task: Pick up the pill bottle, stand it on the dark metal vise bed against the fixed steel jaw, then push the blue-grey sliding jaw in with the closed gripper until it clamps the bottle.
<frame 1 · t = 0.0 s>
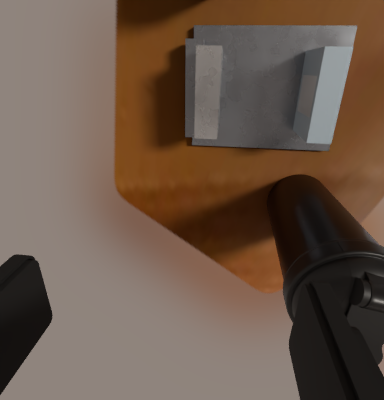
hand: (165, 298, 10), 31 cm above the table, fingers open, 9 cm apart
water bottle: (296, 200, 41), on the table
sliding jaw: (317, 95, 31), point 5 cm above the table, slide at 0.0 cm, touching vise base
vise base: (260, 91, 35), on the table
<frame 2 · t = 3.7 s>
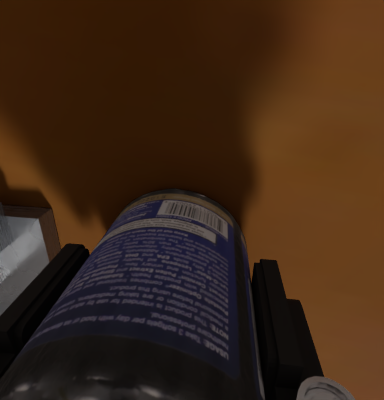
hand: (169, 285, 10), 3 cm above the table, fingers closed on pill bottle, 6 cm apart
pill bottle: (180, 243, 13), on the table, touching gripper
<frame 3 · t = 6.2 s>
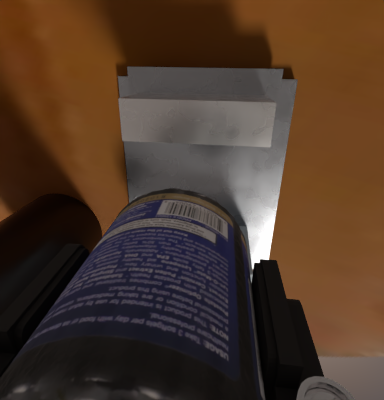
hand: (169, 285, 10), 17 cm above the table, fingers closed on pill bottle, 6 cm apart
water bottle: (65, 227, 31), on the table
sliding jaw: (196, 255, 25), point 5 cm above the table, slide at 0.0 cm, touching vise base
pill bottle: (180, 243, 13), point 14 cm above the table, touching gripper
vise base: (202, 176, 26), on the table
when the fingers open (5 cm above the table, at t = 9.0 s): pill bottle drops 1 cm, resting on vise base.
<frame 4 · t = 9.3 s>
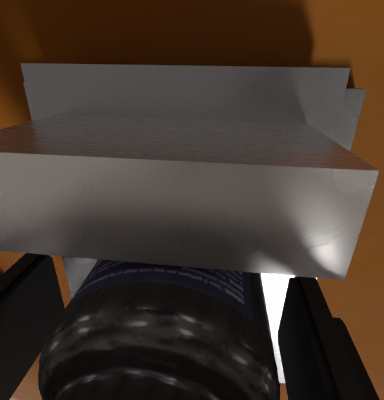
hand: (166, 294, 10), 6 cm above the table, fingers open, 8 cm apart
pill bottle: (192, 227, 14), point 1 cm above the table, touching vise base
vise base: (186, 246, 16), on the table
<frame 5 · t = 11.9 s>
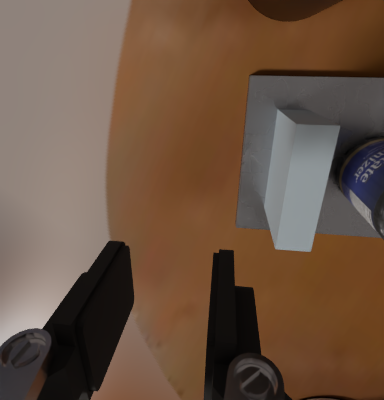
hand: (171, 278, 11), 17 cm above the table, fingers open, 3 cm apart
sliding jaw: (293, 176, 22), point 5 cm above the table, slide at 0.0 cm, touching vise base
pill bottle: (371, 170, 24), point 1 cm above the table, touching vise base
vise base: (348, 162, 25), on the table
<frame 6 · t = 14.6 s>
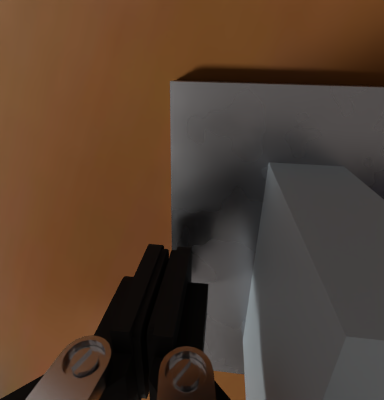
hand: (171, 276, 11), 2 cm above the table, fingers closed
sliding jaw: (305, 344, 8), point 4 cm above the table, slide at 1.0 cm, touching gripper, vise base
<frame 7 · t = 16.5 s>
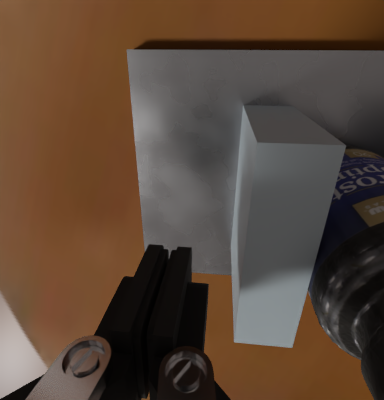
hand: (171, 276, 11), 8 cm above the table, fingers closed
sliding jaw: (265, 216, 13), point 4 cm above the table, slide at 3.4 cm, touching vise base
pill bottle: (330, 194, 16), point 1 cm above the table, touching vise base
vise base: (294, 180, 17), on the table
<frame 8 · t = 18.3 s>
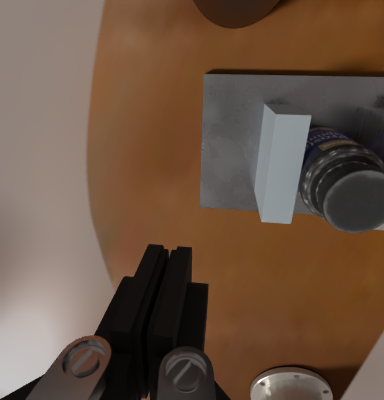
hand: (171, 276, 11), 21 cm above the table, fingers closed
sliding jaw: (277, 160, 25), point 4 cm above the table, slide at 3.4 cm, touching vise base
pill bottle: (313, 155, 28), point 1 cm above the table, touching vise base
vise base: (293, 148, 29), on the table
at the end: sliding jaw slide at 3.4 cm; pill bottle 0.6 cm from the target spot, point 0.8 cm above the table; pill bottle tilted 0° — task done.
